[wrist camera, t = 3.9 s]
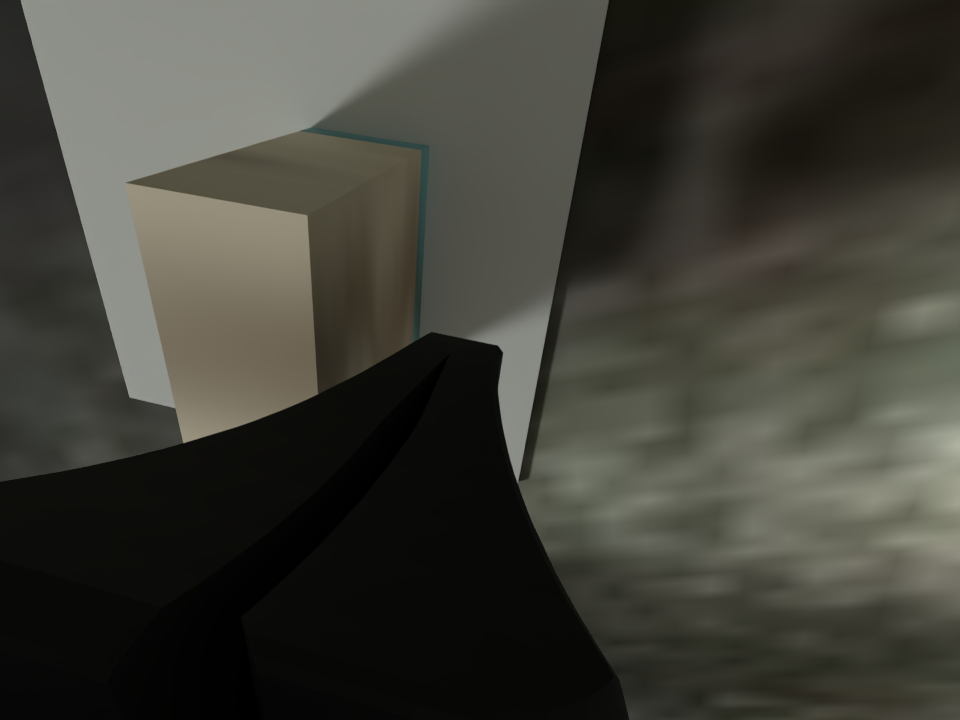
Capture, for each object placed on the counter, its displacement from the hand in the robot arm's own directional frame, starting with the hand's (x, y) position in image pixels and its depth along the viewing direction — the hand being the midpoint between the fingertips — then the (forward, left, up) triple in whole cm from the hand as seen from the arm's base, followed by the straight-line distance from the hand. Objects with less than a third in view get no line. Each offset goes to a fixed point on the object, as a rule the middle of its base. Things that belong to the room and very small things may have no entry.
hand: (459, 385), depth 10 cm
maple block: (0, +4, -5) cm, 6 cm away
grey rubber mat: (0, +6, -5) cm, 8 cm away
